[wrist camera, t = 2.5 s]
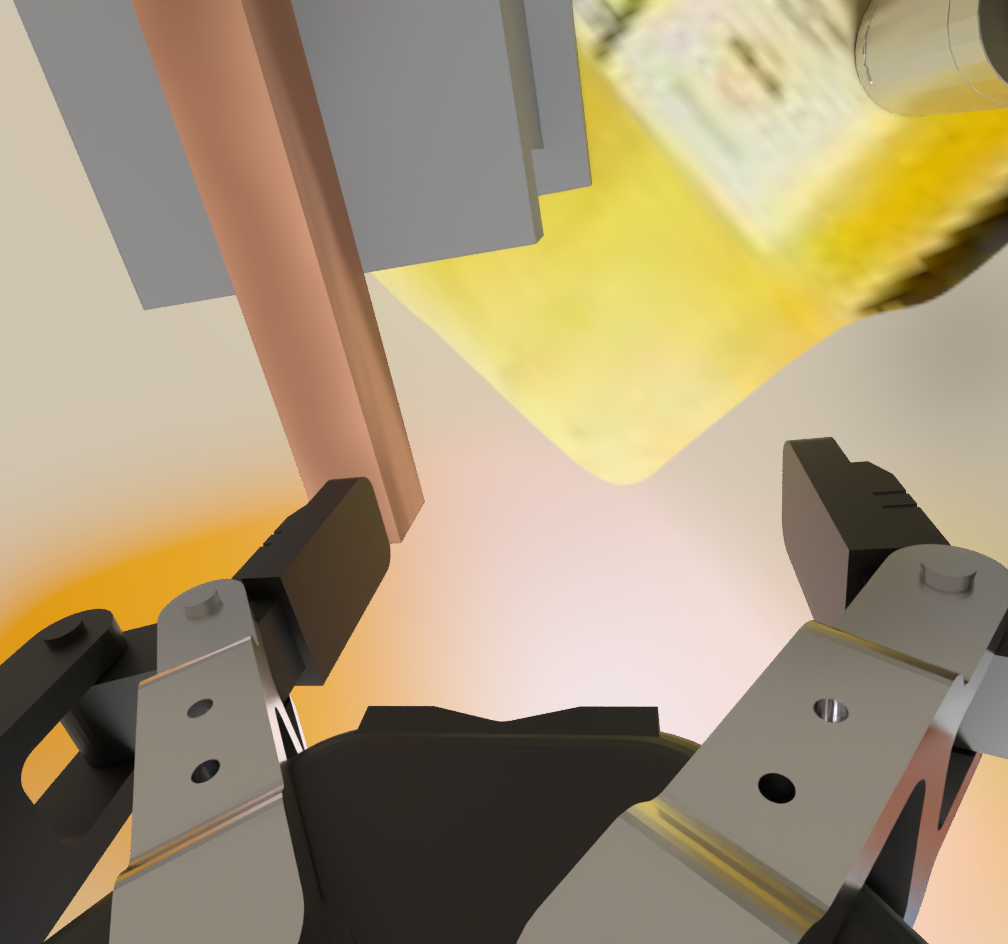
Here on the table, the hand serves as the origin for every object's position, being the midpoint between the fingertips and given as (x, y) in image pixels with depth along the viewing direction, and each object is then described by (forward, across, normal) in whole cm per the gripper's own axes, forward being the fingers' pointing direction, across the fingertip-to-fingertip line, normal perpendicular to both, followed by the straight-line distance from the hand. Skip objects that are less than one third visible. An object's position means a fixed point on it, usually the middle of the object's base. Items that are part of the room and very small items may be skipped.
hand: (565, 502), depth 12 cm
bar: (+10, +9, -6) cm, 15 cm away
